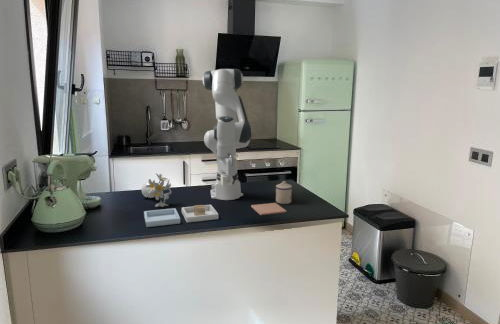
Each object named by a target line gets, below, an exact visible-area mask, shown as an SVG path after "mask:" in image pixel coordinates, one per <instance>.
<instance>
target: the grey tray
mask: <svg viewBox="0 0 500 324" xmlns="http://www.w3.org/2000/svg"><path fill="white" fill-rule="evenodd" d="M202 205H203V204H202ZM194 206H195V205H193V206H186V207H184V206H183V207H181V214H182V215H183V218H184V221H186V223H197V222H203V221H204V222H206V221H214V220H219V213H218V212H217V210H216V209H215V208H214V207H213V205H212V204H204V205H203V206H204V207H205V215H199V216H195V215H194Z"/></svg>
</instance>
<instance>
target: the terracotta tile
mask: <svg viewBox="0 0 500 324" xmlns="http://www.w3.org/2000/svg"><path fill="white" fill-rule="evenodd" d="M250 207H251V208H252V209H253V210H254V211H255V212H257V214H259V215H260V216H265V215H268V216H269V215H275V214H284V213H287V210H286V209H285V208H283V207H282V206H281V205H280V204H279V203H277V202H270V203H261V204H260V203H259V204H251V206H250Z"/></svg>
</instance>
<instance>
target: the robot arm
mask: <svg viewBox="0 0 500 324" xmlns="http://www.w3.org/2000/svg"><path fill="white" fill-rule="evenodd" d="M243 82H244V76H243V73H242V71H241V69H238V68H219V69H216V70H208V71H205V72H204V73H203V76H202V84H203V86H204V89H206V90H208V91H211V92H212V94H211V95H212V98H213V101H214V103H215V104H214V105H215V119H216V120H217V123H216V124H215V125H214V126H213V127H212V128H213V129H211V130H207V131H206V132H205V134H204V135H203V136H204V137H203V142H204V146H206V148H208V149H210V150H211V152H212V153H213V155H214V156H215V158H216V164H217V166H216V167H217V172H216V179H215V181H214V182H213V183H214V184H211V189H210V197H211V199H214V200H215V199H216V200H223V201H232V200H236V199H240V197H243V196H244V193H242V191H241V181H240V180H239V173H238V160H237V158H236V156H237V149H241V148H246V147H248V146H249V144H250V142H251V139H252V135H253V131H252V127H251V124H250V122H249V119H248V116H247V112H246V109H245V106H244V102H243V100H242V97H241V96H240V95H238V94H237V93H236V92H237V91H238V90H239V89H240V88H241V87H242V85H243ZM221 174H226V176H227V177H226V182H227V183H230V179H231V176H232V185H230V186H222V184H221Z"/></svg>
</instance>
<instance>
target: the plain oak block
mask: <svg viewBox="0 0 500 324" xmlns="http://www.w3.org/2000/svg"><path fill="white" fill-rule="evenodd" d="M193 206H194V215H195V216H199V215H205V207H204V206H203V204H197V205H193Z"/></svg>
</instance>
